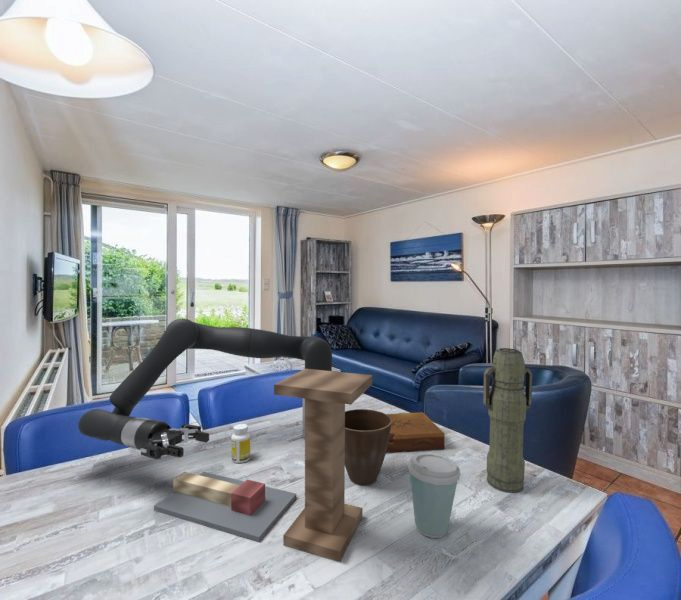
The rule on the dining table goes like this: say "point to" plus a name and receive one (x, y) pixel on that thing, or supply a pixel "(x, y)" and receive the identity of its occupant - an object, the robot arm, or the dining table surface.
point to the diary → (414, 433)
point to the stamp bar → (222, 491)
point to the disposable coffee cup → (433, 492)
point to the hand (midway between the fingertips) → (196, 444)
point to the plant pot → (365, 444)
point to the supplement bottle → (240, 444)
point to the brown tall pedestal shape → (324, 461)
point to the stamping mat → (228, 511)
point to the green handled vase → (507, 418)
